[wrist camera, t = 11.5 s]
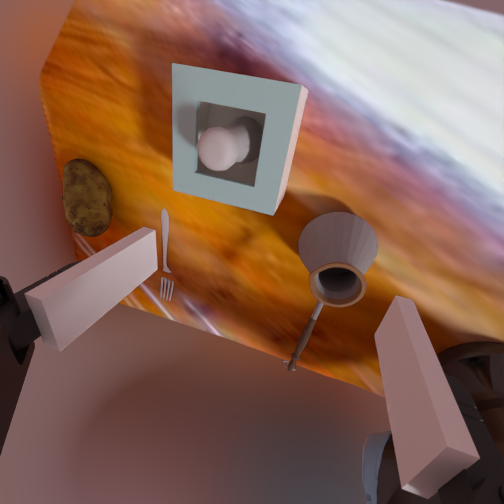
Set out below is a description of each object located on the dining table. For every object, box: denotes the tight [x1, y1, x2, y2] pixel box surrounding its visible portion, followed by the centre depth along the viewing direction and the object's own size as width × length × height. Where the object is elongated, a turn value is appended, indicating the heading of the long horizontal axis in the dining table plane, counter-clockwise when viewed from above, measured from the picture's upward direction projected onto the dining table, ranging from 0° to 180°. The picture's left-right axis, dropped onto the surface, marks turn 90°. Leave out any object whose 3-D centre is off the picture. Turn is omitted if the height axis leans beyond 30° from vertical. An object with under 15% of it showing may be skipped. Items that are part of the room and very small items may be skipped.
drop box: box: [172, 63, 308, 216], centre depth 33 cm, size 14×14×9 cm
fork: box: [160, 209, 174, 302], centre depth 51 cm, size 3×24×2 cm, turn 172°
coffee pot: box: [282, 212, 378, 371], centre depth 37 cm, size 21×12×15 cm, turn 163°
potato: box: [62, 159, 112, 237], centre depth 46 cm, size 8×13×8 cm, turn 172°
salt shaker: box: [197, 116, 263, 171], centre depth 31 cm, size 6×6×13 cm
